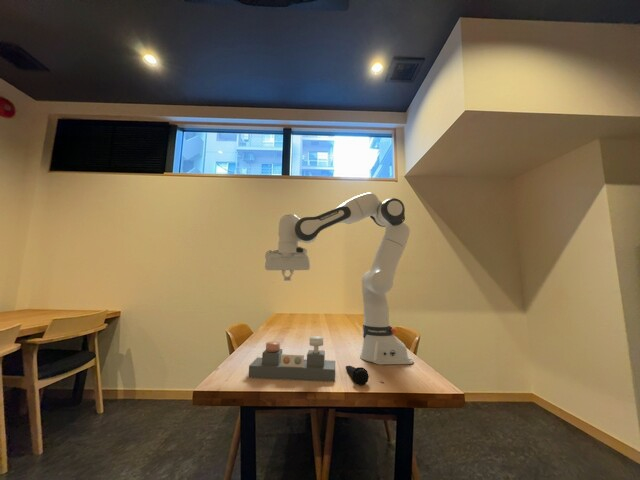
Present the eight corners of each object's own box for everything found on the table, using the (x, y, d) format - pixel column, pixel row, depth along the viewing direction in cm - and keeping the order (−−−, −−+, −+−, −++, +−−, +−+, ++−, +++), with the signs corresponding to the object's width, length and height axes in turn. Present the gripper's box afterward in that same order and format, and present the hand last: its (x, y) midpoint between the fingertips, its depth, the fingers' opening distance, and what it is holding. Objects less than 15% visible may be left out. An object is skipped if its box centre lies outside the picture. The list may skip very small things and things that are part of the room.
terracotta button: (280, 358, 103) (281, 341, 104) (277, 362, 98) (278, 345, 99) (267, 358, 103) (268, 341, 104) (263, 362, 98) (264, 344, 99)
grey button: (323, 353, 102) (323, 336, 103) (322, 357, 97) (322, 339, 98) (309, 352, 103) (310, 335, 103) (308, 356, 98) (308, 338, 98)
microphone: (342, 376, 108) (358, 390, 89) (337, 361, 109) (352, 372, 90) (355, 371, 109) (373, 384, 90) (350, 356, 110) (367, 366, 91)
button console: (335, 371, 103) (335, 349, 104) (334, 381, 94) (335, 357, 95) (256, 368, 105) (257, 346, 106) (248, 377, 96) (249, 353, 97)
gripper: (263, 249, 123) (262, 280, 121) (309, 249, 122) (309, 280, 120) (267, 250, 129) (266, 280, 128) (310, 250, 128) (310, 280, 126)
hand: (287, 280), depth 124 cm, fingers closed
